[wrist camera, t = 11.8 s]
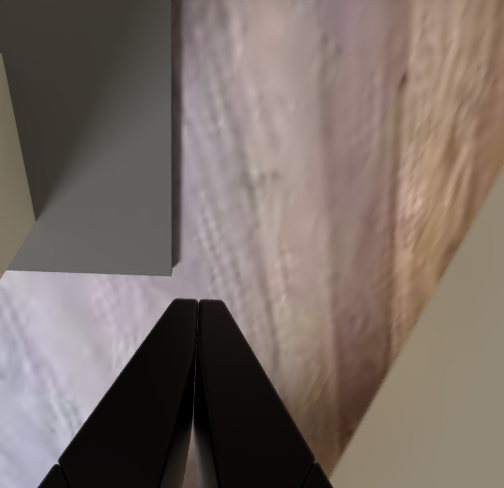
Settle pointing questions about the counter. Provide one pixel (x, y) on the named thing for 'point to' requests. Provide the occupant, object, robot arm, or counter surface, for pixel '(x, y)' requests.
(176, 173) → the counter surface
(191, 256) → the counter surface
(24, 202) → the domino
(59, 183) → the mat
